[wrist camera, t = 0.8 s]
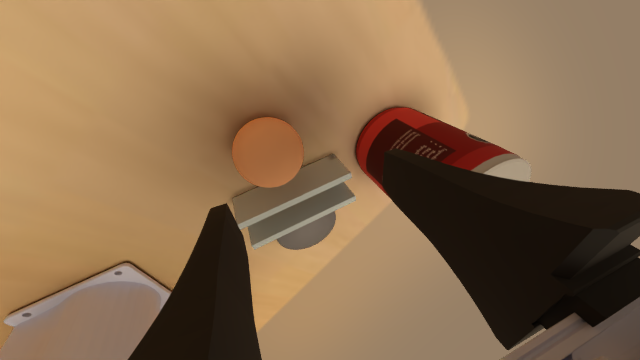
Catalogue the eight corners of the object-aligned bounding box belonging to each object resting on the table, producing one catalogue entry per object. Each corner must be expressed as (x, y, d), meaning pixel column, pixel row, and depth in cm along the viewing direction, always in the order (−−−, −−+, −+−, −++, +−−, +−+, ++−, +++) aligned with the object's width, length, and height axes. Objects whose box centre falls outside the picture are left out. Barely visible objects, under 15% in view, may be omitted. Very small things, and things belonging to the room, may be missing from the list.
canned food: (417, 157, 27) (511, 221, 19) (357, 184, 26) (430, 265, 17) (422, 92, 22) (552, 138, 14) (349, 120, 21) (445, 190, 13)
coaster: (287, 256, 28) (287, 258, 27) (265, 218, 23) (265, 220, 23) (339, 230, 29) (340, 231, 29) (327, 189, 24) (328, 191, 24)
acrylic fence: (248, 222, 23) (254, 249, 20) (232, 198, 21) (236, 225, 18) (339, 180, 24) (356, 200, 22) (333, 153, 22) (350, 172, 20)
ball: (246, 175, 20) (256, 212, 16) (216, 122, 17) (220, 154, 13) (299, 152, 21) (321, 183, 17) (280, 98, 18) (302, 120, 14)
